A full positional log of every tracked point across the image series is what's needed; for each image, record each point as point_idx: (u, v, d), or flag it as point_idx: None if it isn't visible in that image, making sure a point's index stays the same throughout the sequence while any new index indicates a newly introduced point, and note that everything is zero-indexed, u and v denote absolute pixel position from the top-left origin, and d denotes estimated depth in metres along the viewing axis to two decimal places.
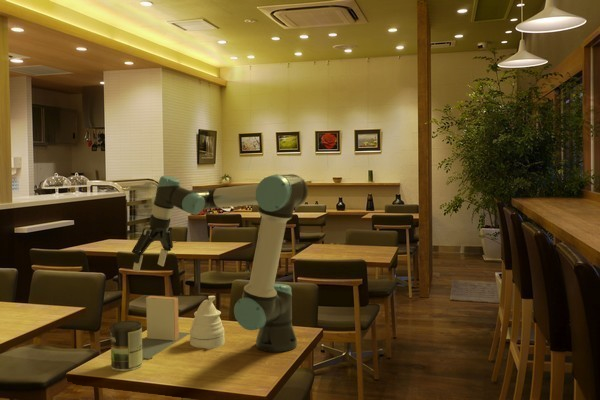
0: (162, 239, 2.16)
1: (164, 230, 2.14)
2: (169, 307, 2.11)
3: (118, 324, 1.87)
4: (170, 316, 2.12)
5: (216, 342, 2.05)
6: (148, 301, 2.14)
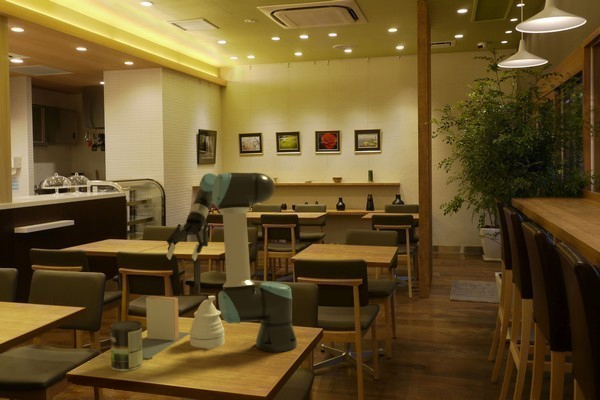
0: (195, 233, 2.35)
1: (198, 225, 2.37)
2: (169, 307, 2.11)
3: (118, 324, 1.87)
4: (170, 316, 2.12)
5: (216, 342, 2.05)
6: (148, 301, 2.14)
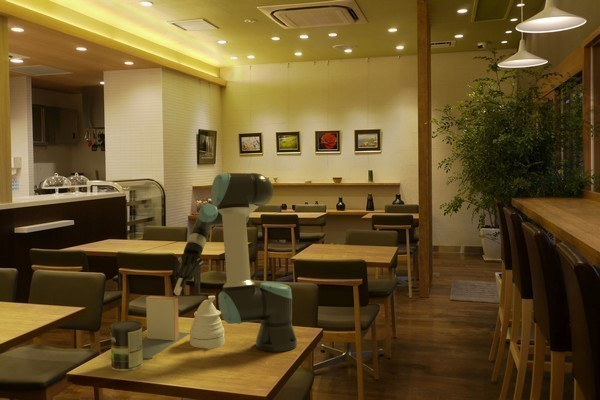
0: None
1: (195, 255, 2.36)
2: (169, 307, 2.11)
3: (118, 324, 1.87)
4: (170, 316, 2.12)
5: (216, 342, 2.05)
6: (148, 301, 2.14)
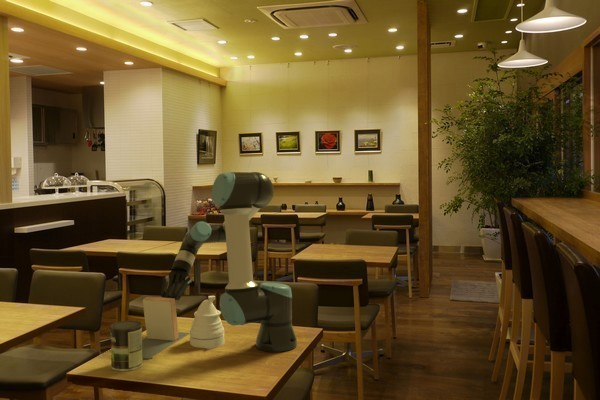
0: None
1: (184, 273, 2.26)
2: (166, 309, 2.10)
3: (118, 324, 1.87)
4: (168, 317, 2.10)
5: (216, 342, 2.05)
6: (145, 303, 2.12)
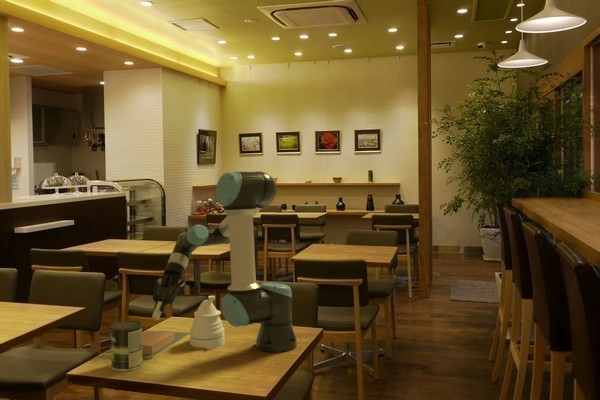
0: None
1: (177, 276, 2.20)
2: None
3: (118, 324, 1.87)
4: None
5: (216, 342, 2.05)
6: None
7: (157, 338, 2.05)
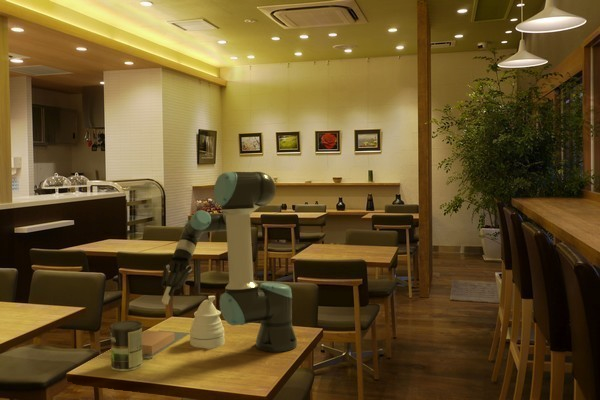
0: None
1: (184, 262, 2.26)
2: None
3: (118, 324, 1.87)
4: None
5: (216, 342, 2.05)
6: None
7: (157, 338, 2.05)
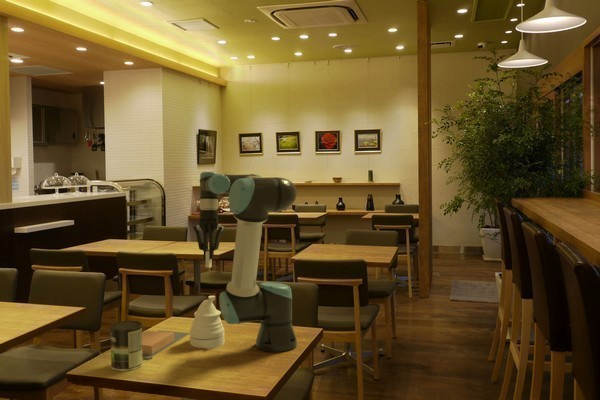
0: None
1: (214, 222, 2.27)
2: None
3: (118, 324, 1.87)
4: None
5: (216, 342, 2.05)
6: None
7: (157, 338, 2.05)
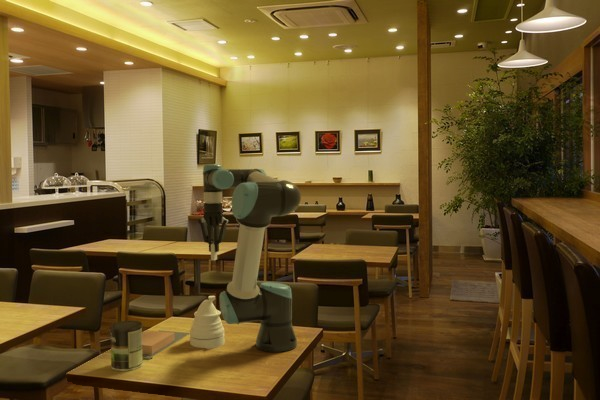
0: None
1: (218, 215, 2.26)
2: None
3: (118, 324, 1.87)
4: None
5: (216, 342, 2.05)
6: None
7: (157, 338, 2.05)
